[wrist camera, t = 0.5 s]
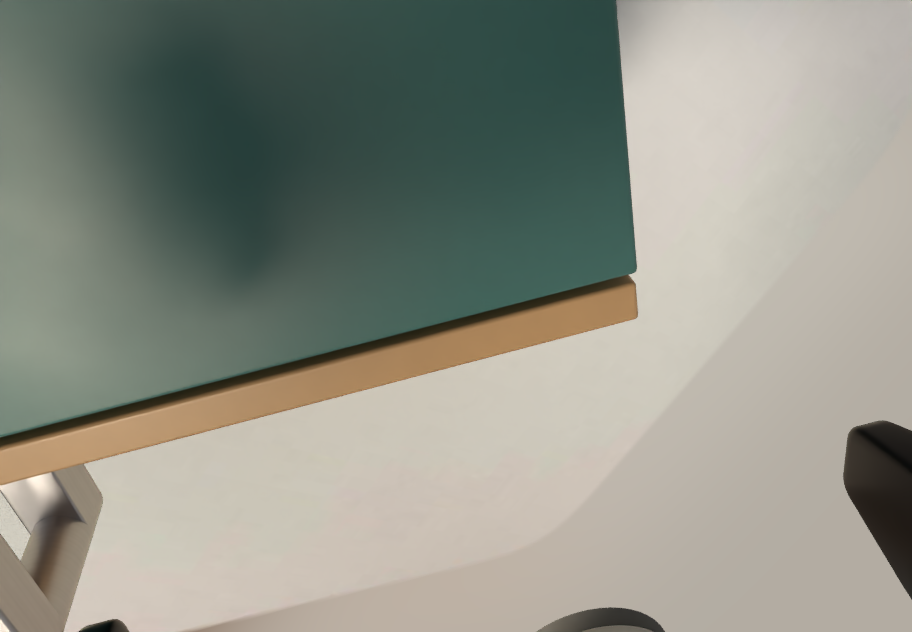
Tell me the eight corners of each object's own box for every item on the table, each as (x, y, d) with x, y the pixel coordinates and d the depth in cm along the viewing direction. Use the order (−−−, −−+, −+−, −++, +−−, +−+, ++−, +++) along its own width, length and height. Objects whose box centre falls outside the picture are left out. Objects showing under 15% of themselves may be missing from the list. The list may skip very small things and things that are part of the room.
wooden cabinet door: (543, 322, 25) (656, 532, 17) (34, 455, 24) (-94, 741, 16) (513, 130, 22) (637, 282, 14) (-80, 277, 21) (-311, 528, 13)
